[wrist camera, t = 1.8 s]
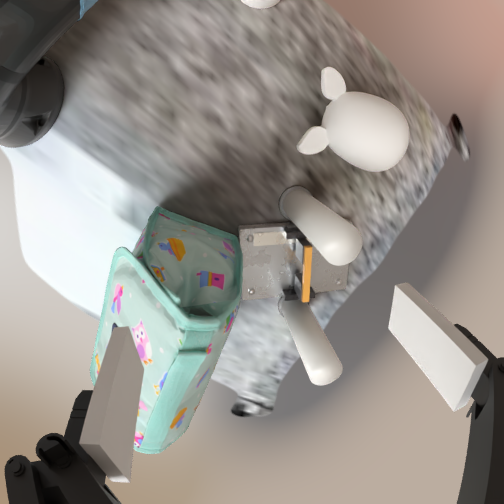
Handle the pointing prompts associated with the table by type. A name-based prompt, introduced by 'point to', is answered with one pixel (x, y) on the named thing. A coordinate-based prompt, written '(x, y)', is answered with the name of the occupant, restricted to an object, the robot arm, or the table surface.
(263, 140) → the table surface
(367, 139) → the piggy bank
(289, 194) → the off-white domed rod
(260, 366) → the table surface
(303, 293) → the orange-faced thin slab
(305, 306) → the white tapered rounded cylinder
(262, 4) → the water bottle
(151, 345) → the lunch bag
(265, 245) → the plate
